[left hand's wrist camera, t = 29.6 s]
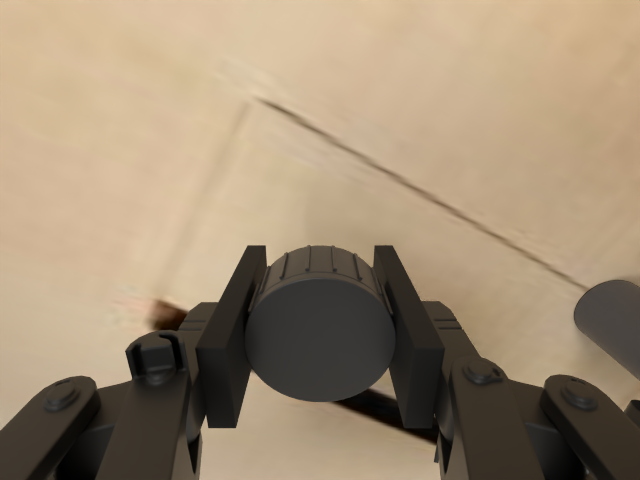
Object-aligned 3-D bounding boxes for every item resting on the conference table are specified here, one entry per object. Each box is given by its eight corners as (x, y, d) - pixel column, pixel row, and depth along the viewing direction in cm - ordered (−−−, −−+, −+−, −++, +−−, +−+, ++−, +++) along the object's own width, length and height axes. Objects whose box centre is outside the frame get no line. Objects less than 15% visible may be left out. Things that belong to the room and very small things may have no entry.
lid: (326, 373, 14) (327, 425, 12) (229, 308, 13) (210, 351, 10) (411, 297, 12) (431, 339, 10) (311, 215, 11) (310, 242, 9)
